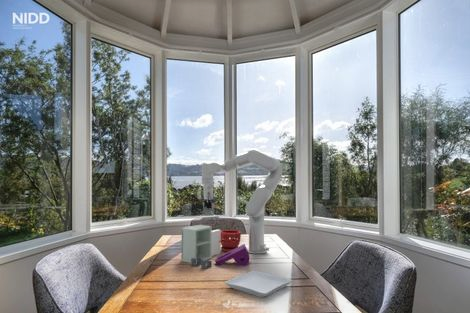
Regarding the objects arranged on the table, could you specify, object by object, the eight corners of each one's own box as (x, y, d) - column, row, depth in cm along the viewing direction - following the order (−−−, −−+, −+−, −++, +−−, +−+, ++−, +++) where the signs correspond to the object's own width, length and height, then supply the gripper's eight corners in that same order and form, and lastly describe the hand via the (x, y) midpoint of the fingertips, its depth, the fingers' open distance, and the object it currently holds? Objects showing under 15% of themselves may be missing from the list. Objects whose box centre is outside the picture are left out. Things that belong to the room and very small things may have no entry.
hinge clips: (211, 266, 163) (211, 258, 163) (204, 269, 159) (204, 261, 159) (198, 263, 169) (198, 256, 169) (191, 266, 164) (191, 258, 164)
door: (217, 252, 193) (217, 229, 193) (221, 253, 191) (221, 230, 191) (206, 256, 184) (206, 231, 185) (211, 256, 182) (211, 232, 183)
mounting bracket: (221, 277, 164) (252, 262, 164) (214, 263, 164) (245, 247, 165) (221, 272, 173) (251, 257, 174) (215, 258, 174) (244, 243, 174)
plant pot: (240, 253, 191) (240, 233, 192) (219, 252, 192) (219, 233, 192) (240, 247, 204) (240, 229, 205) (220, 247, 205) (220, 229, 205)
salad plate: (253, 276, 148) (253, 269, 149) (293, 287, 135) (292, 279, 135) (223, 289, 132) (223, 281, 132) (265, 302, 119) (265, 293, 119)
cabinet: (211, 258, 180) (211, 226, 181) (194, 263, 168) (195, 230, 169) (198, 255, 186) (198, 224, 187) (181, 260, 174) (181, 228, 175)
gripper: (215, 181, 199) (215, 208, 198) (211, 181, 216) (211, 206, 215) (203, 181, 197) (204, 209, 196) (200, 181, 214) (200, 206, 213)
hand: (207, 207), depth 205 cm, fingers open, 9 cm apart
